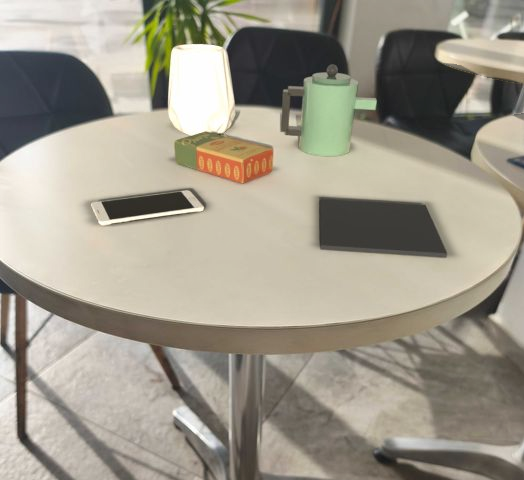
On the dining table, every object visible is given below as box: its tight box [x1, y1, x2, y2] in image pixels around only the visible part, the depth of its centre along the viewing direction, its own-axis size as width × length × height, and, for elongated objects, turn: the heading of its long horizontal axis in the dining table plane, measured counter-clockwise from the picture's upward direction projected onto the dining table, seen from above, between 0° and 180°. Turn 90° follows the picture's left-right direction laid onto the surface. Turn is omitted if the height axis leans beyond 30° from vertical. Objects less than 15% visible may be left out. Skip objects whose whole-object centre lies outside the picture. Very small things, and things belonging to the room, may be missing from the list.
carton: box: [173, 131, 274, 184], centre depth 86 cm, size 8×16×4 cm, turn 51°
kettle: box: [280, 64, 378, 157], centre depth 93 cm, size 17×10×15 cm, turn 85°
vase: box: [167, 43, 236, 136], centre depth 102 cm, size 14×14×15 cm
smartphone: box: [90, 189, 205, 226], centre depth 72 cm, size 8×1×15 cm
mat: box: [319, 198, 448, 259], centre depth 69 cm, size 16×16×1 cm
